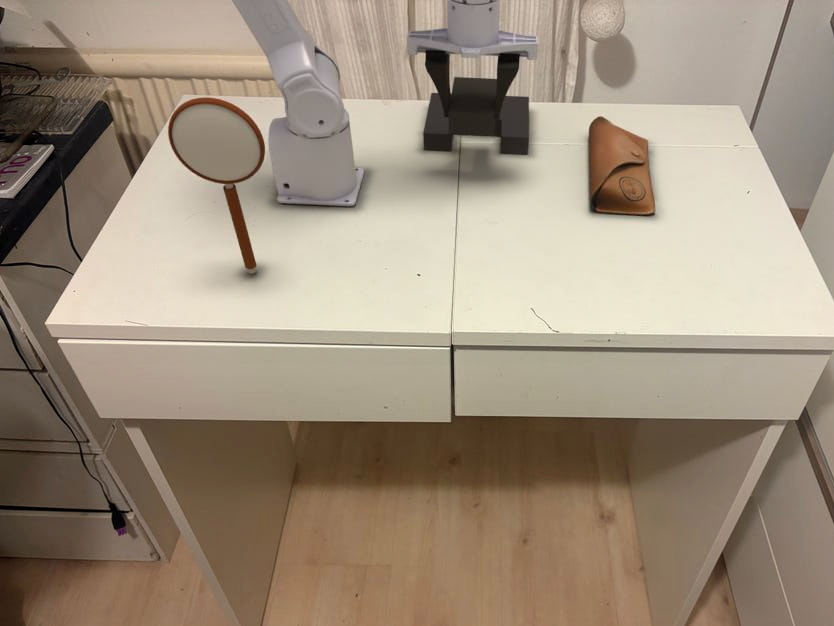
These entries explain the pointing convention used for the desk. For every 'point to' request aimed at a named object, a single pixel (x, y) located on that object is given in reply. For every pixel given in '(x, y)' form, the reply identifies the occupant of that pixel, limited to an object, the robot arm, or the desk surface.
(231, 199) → the magnifying glass
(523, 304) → the desk surface
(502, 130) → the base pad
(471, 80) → the black rectangular block
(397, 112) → the desk surface
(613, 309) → the desk surface
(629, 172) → the sunglasses case
